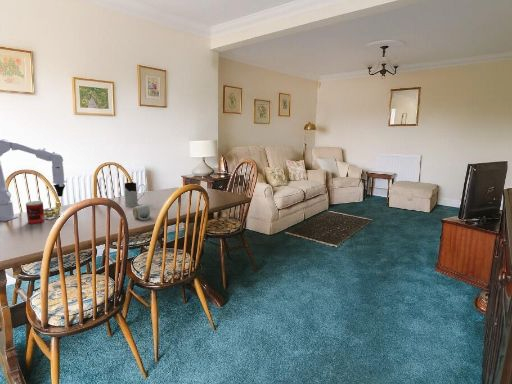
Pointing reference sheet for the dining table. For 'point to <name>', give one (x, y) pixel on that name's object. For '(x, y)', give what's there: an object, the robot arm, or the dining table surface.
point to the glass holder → (131, 194)
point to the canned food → (35, 212)
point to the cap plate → (51, 215)
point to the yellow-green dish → (55, 210)
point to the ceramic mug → (141, 212)
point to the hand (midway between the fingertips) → (60, 196)
